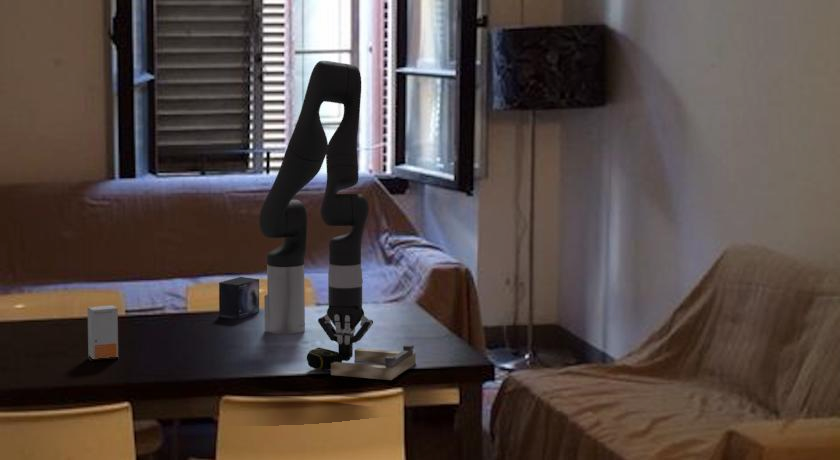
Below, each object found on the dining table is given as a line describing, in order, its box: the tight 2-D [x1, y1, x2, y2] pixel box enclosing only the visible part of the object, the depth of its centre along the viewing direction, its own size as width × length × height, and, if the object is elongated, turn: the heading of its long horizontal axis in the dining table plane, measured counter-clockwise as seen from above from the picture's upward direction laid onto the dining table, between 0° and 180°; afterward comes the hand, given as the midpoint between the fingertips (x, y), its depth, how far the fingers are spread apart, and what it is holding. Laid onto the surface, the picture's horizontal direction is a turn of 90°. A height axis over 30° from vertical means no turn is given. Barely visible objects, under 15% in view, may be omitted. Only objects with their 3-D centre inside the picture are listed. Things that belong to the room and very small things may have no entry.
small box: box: [218, 276, 260, 320], centre depth 341 cm, size 11×6×10 cm, turn 155°
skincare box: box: [87, 304, 119, 359], centre depth 296 cm, size 6×4×12 cm
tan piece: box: [330, 344, 416, 381], centre depth 287 cm, size 14×16×4 cm
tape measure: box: [306, 347, 343, 371], centre depth 286 cm, size 7×7×4 cm
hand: (345, 360), depth 289 cm, fingers closed
